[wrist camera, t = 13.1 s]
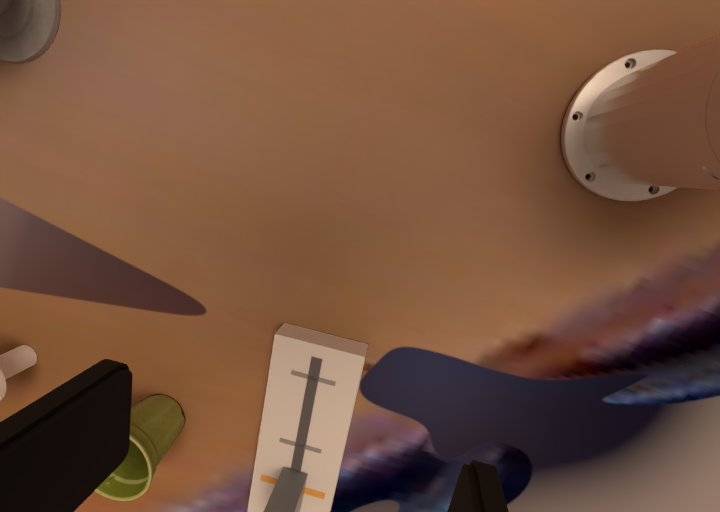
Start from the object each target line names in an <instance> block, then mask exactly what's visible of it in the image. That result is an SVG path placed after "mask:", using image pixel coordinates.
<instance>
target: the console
mask: <svg viewBox="0 0 720 512" xmlns="http://www.w3.org/2000/svg"><path fill="white" fill-rule="evenodd" d="M367 349H368V344H366V343H362V342H358V341H354V340H350V339H346V338H343V337H339V336H335V335H331V334H327V333H323V332H319V331H315V330H311V329H307V328H303V327H299V326H295V325H291V324H288V323H284V324H283V325H282V326H281V327H280V328H279V330H278V331H277V332H276V333H275V336H274V343H273V349H272V356H271V362H270V369H269V375H268V382H267V388H266V395H265V401H264V408H263V414H262V421H261V427H260V433H259V440H258V446H257V453H256V459H255V466H254V472H253V479H252V485H251V492H250V498H249V505H248V511H247V512H263V511H264V509H265V507H266V505H267V502H268V500H269V498H270V496H271V493H272V491H273V489H274V487H275V484H276V482H277V480H278V478H279V475H280V473H281V471H282V469H283V467H284V468H288V469H291V470H294V471H298V472H301V473H305V474H308V475H307V480H306V485H305V490H304V495H303V500H302V505H301V509H300V512H330V511H331V507H332V503H333V498H334V494H335V489H336V485H337V481H338V476H339V472H340V467H341V463H342V459H343V454H344V450H345V445H346V441H347V437H348V432H349V428H350V424H351V419H352V415H353V410H354V406H355V402H356V397H357V393H358V388H359V384H360V380H361V375H362V371H363V366H364V362H365V358H366V353H367Z"/></svg>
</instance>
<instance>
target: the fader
mask: <svg viewBox="0 0 720 512" xmlns="http://www.w3.org/2000/svg"><path fill="white" fill-rule="evenodd" d="M307 475H308V474H305V473H301V472H298V471H294V470H291V469H288V468H284V467H283V469H282V471H281V473H280V475H279V478H278V480H277V482H276V484H275V487H274V489H273V491H272V493H271V496H270V498H269V500H268V502H267V505H266V507H265V509H264V511H263V512H300V509H301V505H302V500H303V495H304V490H305V485H306V480H307Z"/></svg>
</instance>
